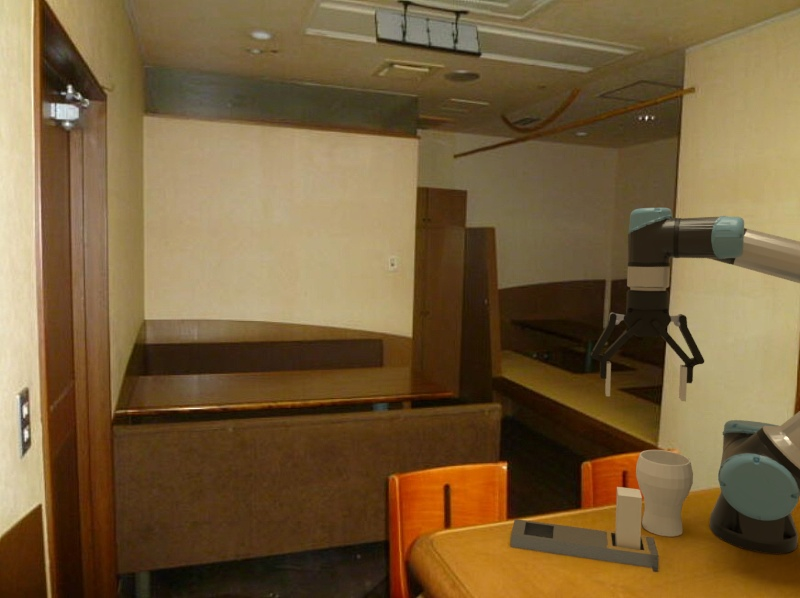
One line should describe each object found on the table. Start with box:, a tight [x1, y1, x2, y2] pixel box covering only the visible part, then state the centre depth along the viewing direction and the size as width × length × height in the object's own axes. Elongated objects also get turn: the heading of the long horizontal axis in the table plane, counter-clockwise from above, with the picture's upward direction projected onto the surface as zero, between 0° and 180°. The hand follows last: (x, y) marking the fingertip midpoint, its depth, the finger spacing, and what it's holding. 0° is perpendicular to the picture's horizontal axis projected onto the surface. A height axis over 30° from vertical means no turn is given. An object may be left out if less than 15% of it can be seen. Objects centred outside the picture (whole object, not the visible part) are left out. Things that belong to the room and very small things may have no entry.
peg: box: [615, 486, 643, 550], centre depth 108 cm, size 4×4×12 cm
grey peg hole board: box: [510, 518, 660, 573], centre depth 110 cm, size 26×7×3 cm, turn 73°
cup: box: [635, 449, 694, 537], centre depth 120 cm, size 11×11×15 cm
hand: (644, 397), depth 114 cm, fingers open, 13 cm apart
